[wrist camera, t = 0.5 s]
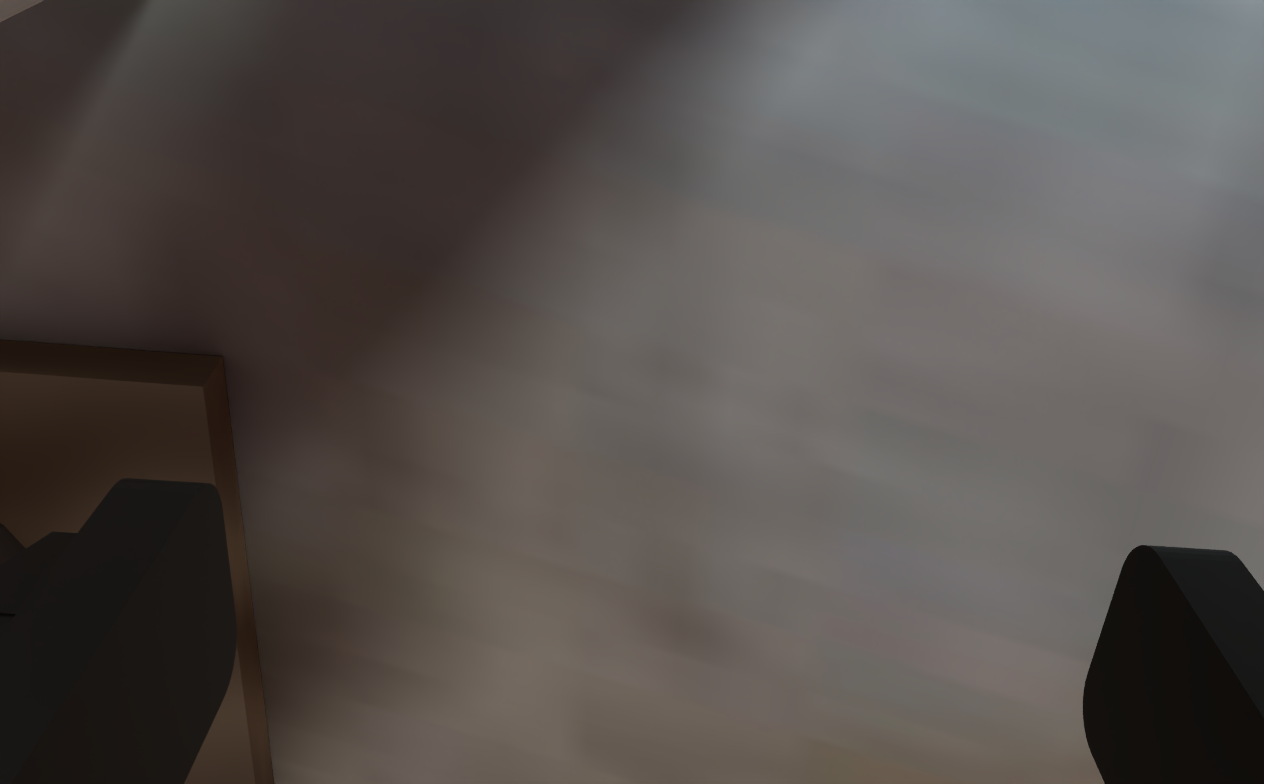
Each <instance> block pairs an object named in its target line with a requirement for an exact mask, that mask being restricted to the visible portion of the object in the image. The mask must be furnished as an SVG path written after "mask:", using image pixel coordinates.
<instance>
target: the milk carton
mask: <svg viewBox="0 0 1264 784" xmlns="http://www.w3.org/2000/svg"><path fill="white" fill-rule="evenodd" d="M42 1H44V0H0V22H2V21H4V20H6V19H8V18H10V17H12V16H14V15H16V14H18V13H20V12H22V11H24V10H26V9H28V8H30V7H32V6H34V5H36V4H38V3H40V2H42Z"/></svg>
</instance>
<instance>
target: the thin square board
mask: <svg viewBox="0 0 1264 784" xmlns="http://www.w3.org/2000/svg"><path fill="white" fill-rule="evenodd" d="M124 478H134V479H149V480H165V481H181V482H196V483H210V484H213V485H214V486H215V487H216V489H217V490H218V492H219V495H220V498H221V501H222V507H223V515H224V523H225V531H226V539H227V548H228V556H229V564H230V572H231V581H232V589H233V597H234V606H235V614H236V624H237V643H236V654H235V661H234V666H233V671H232V675H231V679H230V683H229V686H228V689H227V692H226V694H225V697H224V699H223V701H222V703H221V706H220V708H219V710H218V712H217V714H216V716H215V718H214V721H213V723H212V725H211V727H210V729H209V731H208V734H207V736H206V738H205V740H204V742H203V744H202V746H201V749H200V751H199V753H198V755H197V757H196V759H195V761H194V764H193V766H192V768H191V770H190V772H189V774H188V777H187V779H186V781H185V783H184V784H274V779H273V770H272V762H271V754H270V746H269V737H268V729H267V721H266V712H265V704H264V696H263V687H262V679H261V671H260V662H259V654H258V646H257V638H256V629H255V621H254V613H253V604H252V596H251V588H250V579H249V571H248V563H247V555H246V546H245V538H244V530H243V521H242V513H241V505H240V496H239V488H238V480H237V471H236V463H235V455H234V447H233V438H232V430H231V422H230V413H229V405H228V397H227V388H226V380H225V372H224V363H223V357H222V356H209V355H195V354H182V353H169V352H155V351H142V350H129V349H116V348H102V347H89V346H76V345H62V344H49V343H36V342H22V341H9V340H0V565H1V564H3V563H4V562H6V561H7V560H9V559H10V558H12V557H13V556H15V555H17V554H18V553H20V552H21V551H23V550H24V549H26V548H28V547H29V546H31V545H32V544H34V543H35V542H37V541H38V540H40V539H42V538H43V537H45V536H46V535H48V534H49V533H51V532H67V533H78V532H79V530H80V529H81V528H82V526H83V525H84V524H85V522H86V521H87V520H88V518H89V517H90V516H91V514H92V513H93V512H94V510H95V509H96V508H97V507H98V505H99V504H100V503H101V501H102V500H103V499H104V497H105V496H106V495H107V493H108V492H109V491H110V489H111V488H112V487H113V486H114V485H115V484H116V483H117V482H118V481H119V480H121V479H124Z"/></svg>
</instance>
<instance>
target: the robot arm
mask: <svg viewBox="0 0 1264 784" xmlns="http://www.w3.org/2000/svg"><path fill="white" fill-rule="evenodd" d="M236 643H237V624H236V614H235V606H234V597H233V589H232V581H231V572H230V564H229V556H228V548H227V539H226V531H225V523H224V515H223V507H222V501H221V498H220V495H219V492H218V490H217V489H216V487H215V486H214V485H213V484H210V483H196V482H181V481H165V480H149V479H134V478H124V479H121V480H119V481H118V482H117V483H116V484H115V485H114V486H113V487H112V488H111V489H110V491H109V492H108V493H107V495H106V496H105V497H104V499H103V500H102V501H101V503H100V504H99V505H98V507H97V508H96V509H95V510H94V512H93V513H92V514H91V516H90V517H89V518H88V520H87V521H86V522H85V524H84V525H83V526H82V528H81V529H80V530H79V532H78V533H67V532H51V533H49V534H48V535H46V536H45V537H43V538H42V539H40V540H38V541H37V542H35V543H34V544H32V545H31V546H29V547H28V548H26V549H24V550H23V551H21V552H20V553H18V554H17V555H15V556H13V557H12V558H10V559H9V560H7V561H6V562H4V563H3V564H1V565H0V784H184V783H185V781H186V779H187V777H188V774H189V772H190V770H191V768H192V766H193V764H194V761H195V759H196V757H197V755H198V753H199V751H200V749H201V746H202V744H203V742H204V740H205V738H206V736H207V734H208V731H209V729H210V727H211V725H212V723H213V721H214V718H215V716H216V714H217V712H218V710H219V708H220V706H221V703H222V701H223V699H224V697H225V694H226V692H227V689H228V686H229V683H230V679H231V675H232V671H233V666H234V661H235V654H236ZM1083 719H1084V728H1085V733H1086V738H1087V742H1088V745H1089V748H1090V751H1091V753H1092V756H1093V758H1094V760H1095V762H1096V765H1097V767H1098V769H1099V771H1100V774H1101V776H1102V778H1103V780H1104V783H1105V784H1264V591H1263V589H1262V588H1261V587H1260V585H1259V584H1258V583H1257V581H1256V580H1255V579H1254V577H1253V576H1252V575H1251V573H1250V572H1249V571H1248V569H1247V568H1246V567H1245V565H1244V564H1243V563H1242V561H1241V560H1240V559H1239V558H1238V557H1237V556H1236V555H1234V554H1233V553H1231V552H1229V551H1225V550H1210V549H1194V548H1178V547H1163V546H1147V545H1141V546H1138V547H1136V548H1135V549H1133V550H1132V551H1131V552H1130V554H1129V555H1128V556H1127V558H1126V560H1125V562H1124V564H1123V567H1122V570H1121V573H1120V576H1119V579H1118V582H1117V585H1116V588H1115V591H1114V594H1113V597H1112V600H1111V603H1110V606H1109V610H1108V613H1107V616H1106V619H1105V622H1104V625H1103V628H1102V631H1101V634H1100V637H1099V640H1098V643H1097V646H1096V649H1095V652H1094V656H1093V659H1092V662H1091V665H1090V668H1089V671H1088V674H1087V678H1086V681H1085V687H1084V695H1083Z"/></svg>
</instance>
